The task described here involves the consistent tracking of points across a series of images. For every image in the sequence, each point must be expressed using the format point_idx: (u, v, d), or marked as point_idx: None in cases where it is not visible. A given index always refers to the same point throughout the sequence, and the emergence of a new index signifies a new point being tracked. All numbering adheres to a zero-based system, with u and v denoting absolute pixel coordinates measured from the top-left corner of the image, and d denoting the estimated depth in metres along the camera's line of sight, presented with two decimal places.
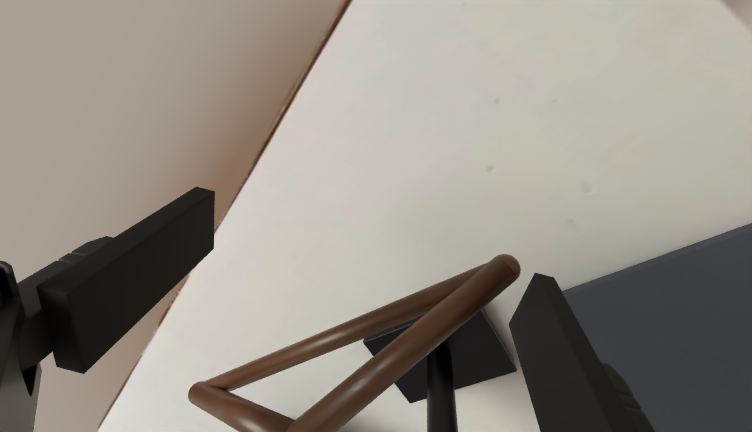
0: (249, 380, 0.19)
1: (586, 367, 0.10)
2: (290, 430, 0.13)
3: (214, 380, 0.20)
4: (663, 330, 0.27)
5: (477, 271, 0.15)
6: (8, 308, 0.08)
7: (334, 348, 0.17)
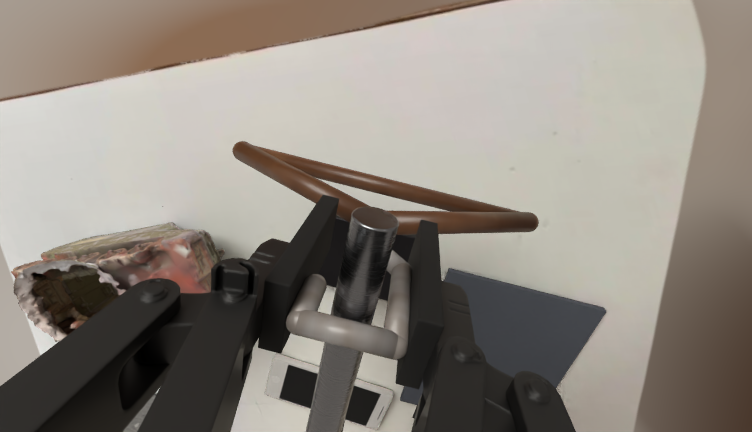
0: (303, 170, 0.22)
1: (425, 279, 0.12)
2: None
3: (269, 150, 0.22)
4: (503, 334, 0.38)
5: (514, 212, 0.22)
6: (248, 303, 0.09)
7: (389, 193, 0.22)
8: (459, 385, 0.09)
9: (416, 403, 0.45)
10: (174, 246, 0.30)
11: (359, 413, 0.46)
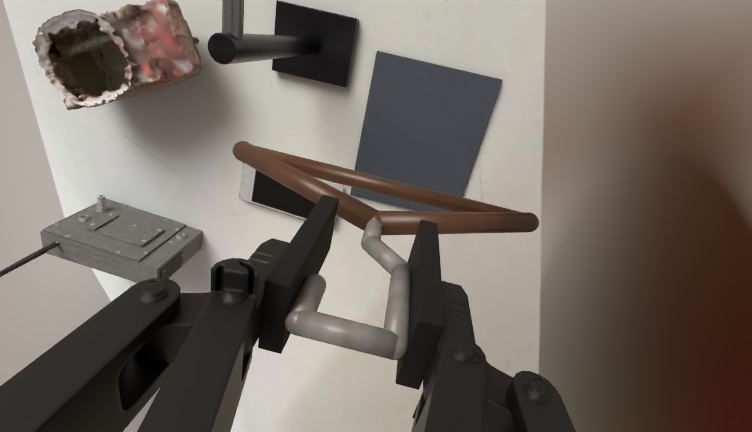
0: (304, 170, 0.22)
1: (425, 279, 0.12)
2: (381, 213, 0.17)
3: (269, 150, 0.22)
4: (425, 113, 0.47)
5: (515, 212, 0.22)
6: (248, 303, 0.09)
7: (389, 193, 0.22)
8: (459, 385, 0.09)
9: (363, 196, 0.54)
10: (156, 5, 0.40)
11: None
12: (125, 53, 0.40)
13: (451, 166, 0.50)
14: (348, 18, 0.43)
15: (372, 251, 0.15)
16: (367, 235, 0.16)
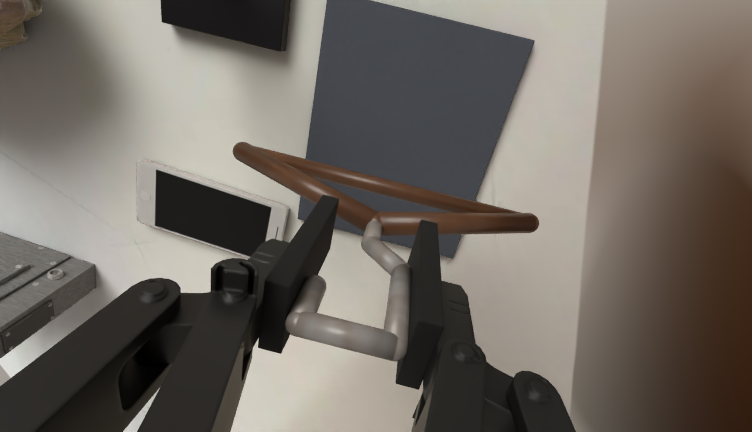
0: (304, 171, 0.22)
1: (425, 279, 0.12)
2: (382, 214, 0.17)
3: (269, 151, 0.22)
4: (409, 95, 0.30)
5: (515, 213, 0.22)
6: (248, 303, 0.09)
7: (389, 194, 0.22)
8: (459, 385, 0.09)
9: None
10: None
11: (250, 240, 0.38)
12: None
13: (448, 179, 0.32)
14: None
15: (372, 252, 0.15)
16: (367, 236, 0.16)
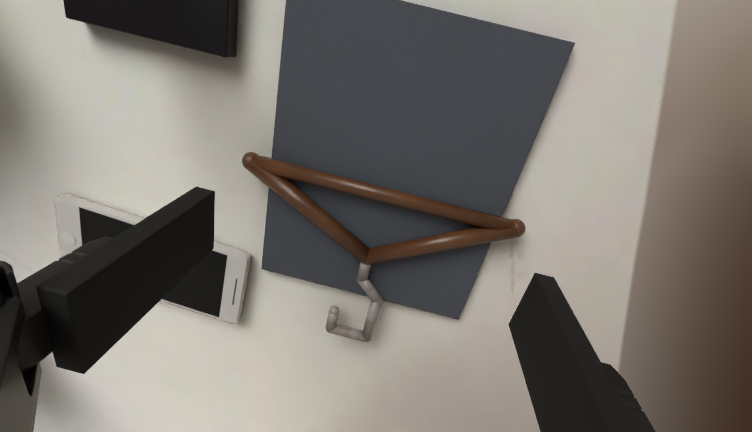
0: None
1: (586, 367, 0.10)
2: (368, 261, 0.26)
3: (273, 171, 0.24)
4: (401, 116, 0.22)
5: (500, 229, 0.23)
6: (8, 308, 0.08)
7: None
8: None
9: (286, 272, 0.28)
10: None
11: (203, 293, 0.30)
12: None
13: (453, 224, 0.25)
14: None
15: (362, 287, 0.27)
16: (358, 280, 0.27)
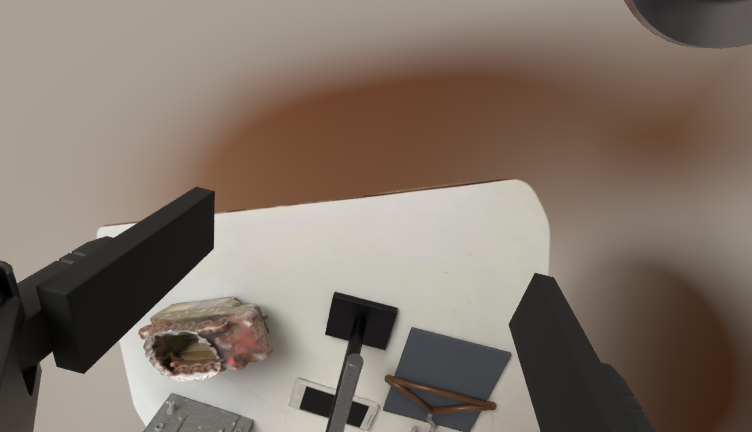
0: None
1: (586, 367, 0.10)
2: (432, 414, 0.62)
3: (397, 384, 0.60)
4: (448, 368, 0.59)
5: (486, 407, 0.60)
6: (8, 308, 0.08)
7: None
8: None
9: (394, 412, 0.65)
10: (242, 321, 0.51)
11: (354, 419, 0.66)
12: (217, 356, 0.51)
13: None
14: (390, 312, 0.54)
15: (428, 421, 0.64)
16: (427, 419, 0.63)
